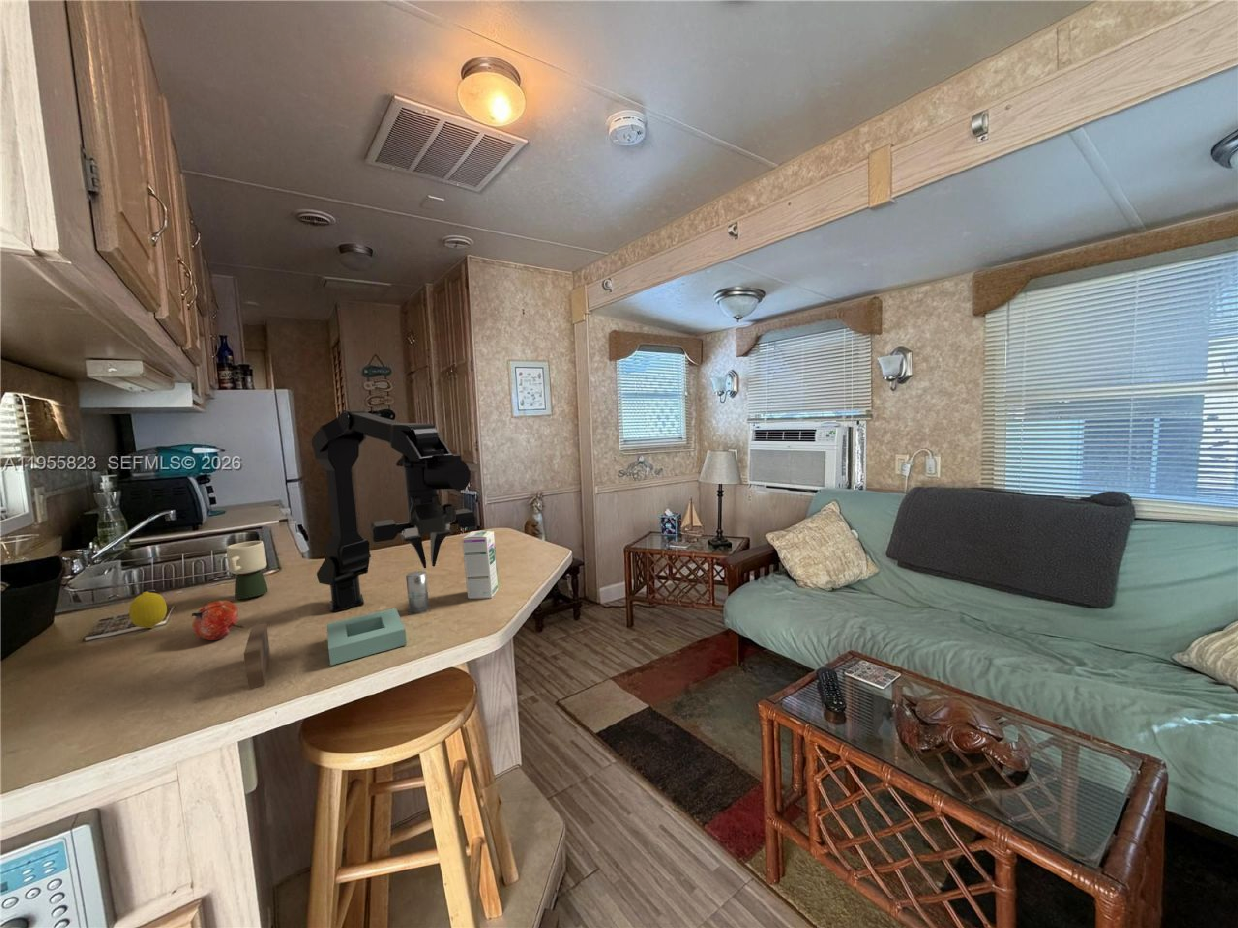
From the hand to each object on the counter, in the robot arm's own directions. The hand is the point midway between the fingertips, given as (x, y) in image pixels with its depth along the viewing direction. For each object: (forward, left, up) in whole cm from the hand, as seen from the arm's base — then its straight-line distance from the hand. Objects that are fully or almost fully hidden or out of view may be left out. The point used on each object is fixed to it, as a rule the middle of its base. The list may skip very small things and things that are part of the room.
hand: (429, 566), depth 93 cm
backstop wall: (0, -28, -12) cm, 30 cm away
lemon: (-36, -49, -12) cm, 62 cm away
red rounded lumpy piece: (-22, -36, -12) cm, 44 cm away
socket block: (0, -12, -12) cm, 17 cm away
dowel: (-10, -1, -12) cm, 16 cm away
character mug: (-45, -33, -12) cm, 57 cm away
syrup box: (-10, +13, -12) cm, 20 cm away
